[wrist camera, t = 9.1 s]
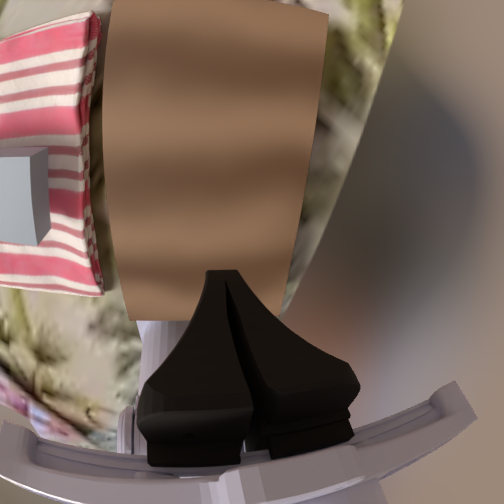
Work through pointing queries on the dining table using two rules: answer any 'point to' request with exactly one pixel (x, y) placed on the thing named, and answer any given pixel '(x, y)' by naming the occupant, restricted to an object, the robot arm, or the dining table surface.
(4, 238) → the blue-grey tile
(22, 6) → the dining table surface
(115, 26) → the board
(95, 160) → the dining table surface
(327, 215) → the dining table surface
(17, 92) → the dish towel
